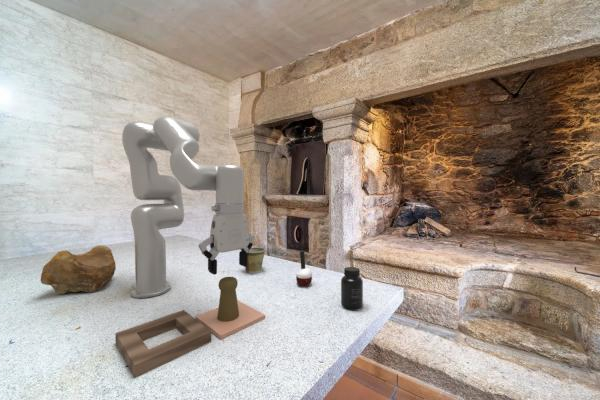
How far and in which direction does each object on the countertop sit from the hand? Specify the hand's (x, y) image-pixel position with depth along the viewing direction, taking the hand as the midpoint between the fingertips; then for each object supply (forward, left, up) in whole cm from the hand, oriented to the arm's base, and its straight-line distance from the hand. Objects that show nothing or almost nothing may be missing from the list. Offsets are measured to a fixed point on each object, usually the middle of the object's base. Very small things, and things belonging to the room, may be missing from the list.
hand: (228, 269), depth 71 cm
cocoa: (-1, +34, -15) cm, 37 cm away
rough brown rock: (-57, -24, -15) cm, 64 cm away
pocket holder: (-1, -17, -14) cm, 22 cm away
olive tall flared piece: (+1, 0, -14) cm, 14 cm away
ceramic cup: (-29, +31, -15) cm, 45 cm away
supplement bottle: (+22, +31, -15) cm, 41 cm away
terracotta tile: (+1, 0, -14) cm, 14 cm away
